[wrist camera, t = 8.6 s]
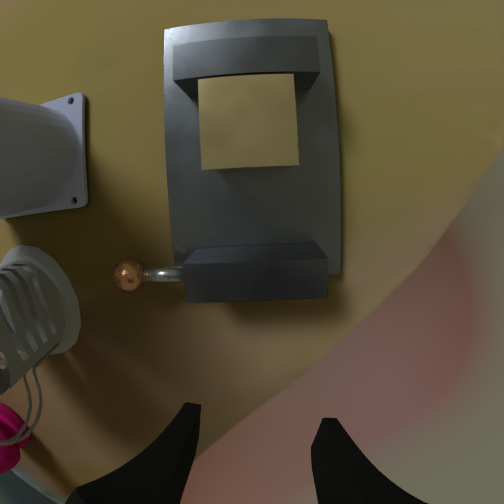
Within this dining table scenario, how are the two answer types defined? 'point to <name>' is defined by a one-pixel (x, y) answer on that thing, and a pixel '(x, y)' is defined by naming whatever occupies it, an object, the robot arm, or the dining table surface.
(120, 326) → the dining table surface
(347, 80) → the dining table surface
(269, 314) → the dining table surface
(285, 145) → the brass block
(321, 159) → the vise
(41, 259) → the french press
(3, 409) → the pepper mill
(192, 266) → the sliding jaw
